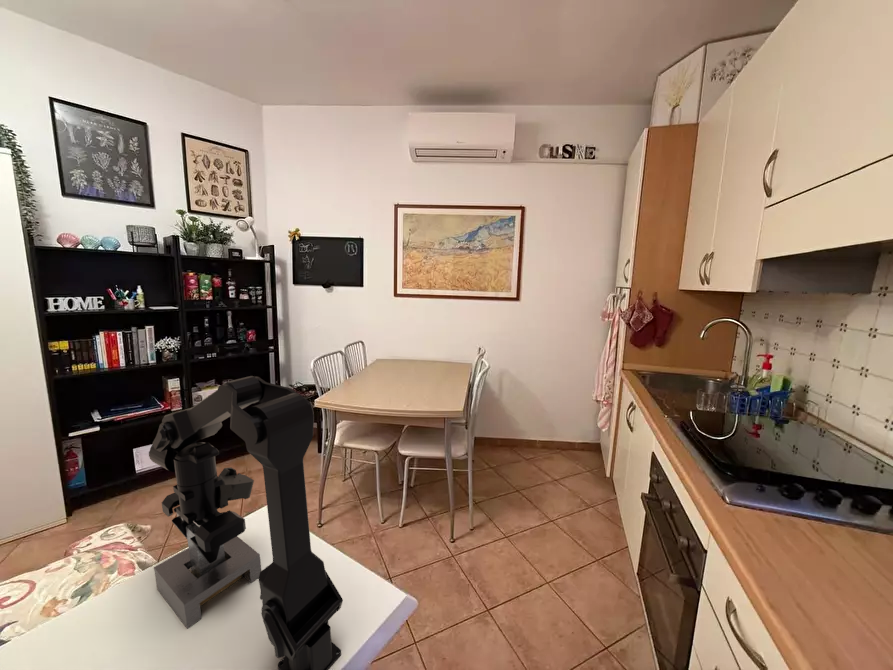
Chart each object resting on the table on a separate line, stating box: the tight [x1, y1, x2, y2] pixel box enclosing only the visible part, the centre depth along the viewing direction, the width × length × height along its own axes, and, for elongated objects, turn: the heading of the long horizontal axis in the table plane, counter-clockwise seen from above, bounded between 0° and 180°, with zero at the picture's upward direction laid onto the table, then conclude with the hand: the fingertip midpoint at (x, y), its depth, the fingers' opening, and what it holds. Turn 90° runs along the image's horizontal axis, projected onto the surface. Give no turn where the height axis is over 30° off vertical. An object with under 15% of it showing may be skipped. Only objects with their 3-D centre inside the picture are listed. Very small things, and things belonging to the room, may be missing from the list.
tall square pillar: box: [186, 522, 225, 579], centre depth 62 cm, size 4×4×11 cm
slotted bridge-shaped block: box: [153, 535, 262, 629], centre depth 63 cm, size 13×12×4 cm
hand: (207, 556), depth 62 cm, fingers closed on tall square pillar, 4 cm apart
